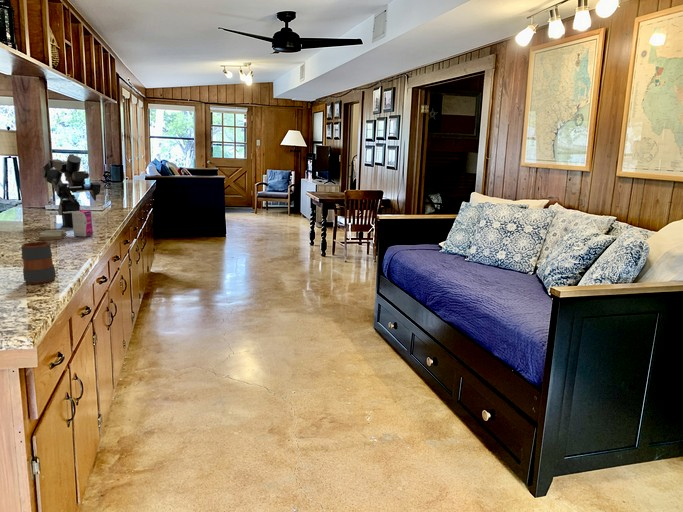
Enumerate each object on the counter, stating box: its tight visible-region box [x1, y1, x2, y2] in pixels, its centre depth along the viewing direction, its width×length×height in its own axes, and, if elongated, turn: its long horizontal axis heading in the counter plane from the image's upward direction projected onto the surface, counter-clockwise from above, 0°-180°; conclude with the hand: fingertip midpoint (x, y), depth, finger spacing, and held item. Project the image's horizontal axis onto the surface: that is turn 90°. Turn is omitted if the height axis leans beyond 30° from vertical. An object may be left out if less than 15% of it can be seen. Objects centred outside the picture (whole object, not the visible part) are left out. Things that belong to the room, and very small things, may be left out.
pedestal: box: [38, 229, 68, 241], centre depth 231 cm, size 9×9×3 cm
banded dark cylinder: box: [20, 241, 57, 285], centre depth 162 cm, size 9×12×12 cm
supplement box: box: [71, 209, 94, 238], centre depth 235 cm, size 6×6×12 cm
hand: (85, 200), depth 242 cm, fingers open, 9 cm apart
